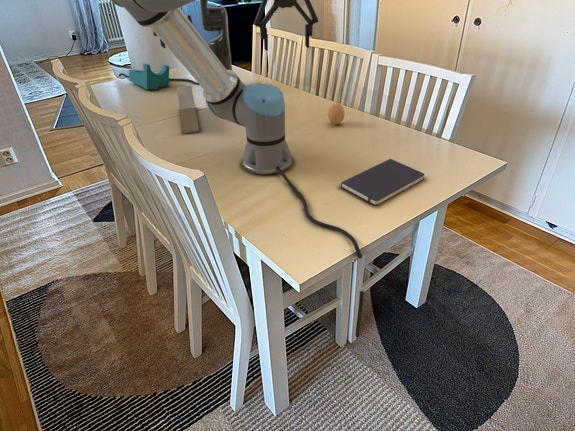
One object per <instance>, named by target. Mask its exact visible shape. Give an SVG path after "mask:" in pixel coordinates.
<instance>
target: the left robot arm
mask: <svg viewBox="0 0 575 431" xmlns="http://www.w3.org/2000/svg"><path fill="white" fill-rule="evenodd" d="M208 3H209V0H199V8H200V19H201V26H202V29H203V31H204V32H206V33H207V32H208V33H210V32H211V33H213V32H220V34H219V35H217V37H214V38H211V39H210V40H209V41H208V43H207V45H208V46H209V47H210V49H211V50H212V51H213V53H214V54H215V55H216V57H217V58H218V59H219V61H220V62H221V63H222V65H223V66H224V67H225V69H226V70H232V71H233V66H232V54H231V46H230V36H229V20H228V12H227V10H226V8H225V7H224V6H210V7H209V4H208ZM179 8H180V9H181V8H182V6H181V7H179ZM181 10H182V9H181ZM185 15H186V17H187V18H188V19H189V21H190V22H191V23H192V25H193V26H194V24H193V19H192V15H191V14H190V13H187V14H185ZM152 34H153V36H154V37H158V36H157V35H156V33H155V32H154V31H153V30H152ZM159 43H160V46H161V48H163V49H166V47H167V46H166V45H165V44H164V43H163V41H162V40H161V39H160V38H159ZM122 76H123V77H125V78H127V79H129V75H127V74H125V73H122V72H121V73H119V74H118V77H119V78H120V77H122ZM171 81H172V82H189V83H192V84H194V85H197V86H201V85H200V84H199V83H198V82H197V81H194V80H192V79H189V78H170V77H169V82H171Z"/></svg>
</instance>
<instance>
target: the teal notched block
mask: <svg viewBox="0 0 575 431" xmlns="http://www.w3.org/2000/svg"><path fill="white" fill-rule="evenodd" d="M128 76H129V78H130V79H129V78H128V81H129V82H131V83H132V84H135V85H138V86H139V87H141V88H142V89H143V88H144V89H145V90H158V89H159V87H167V88H169V85H170V81H169V78H170V66H169V65H168V64H162V67H161V70H159V71H158V72H155V71H152V68H151V65H150V64H148V63H143V64H142V69H141V70H140V69H128Z"/></svg>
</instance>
